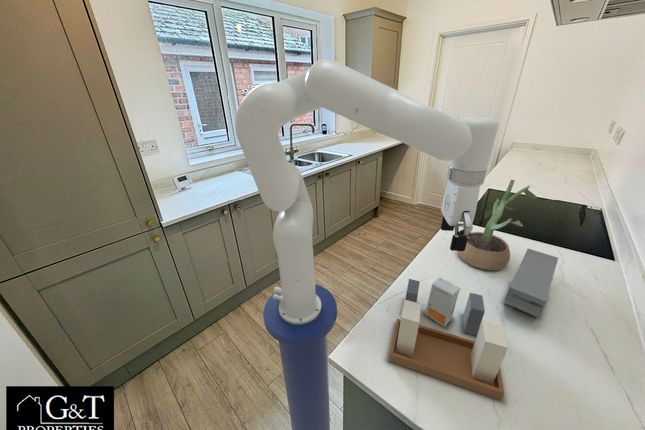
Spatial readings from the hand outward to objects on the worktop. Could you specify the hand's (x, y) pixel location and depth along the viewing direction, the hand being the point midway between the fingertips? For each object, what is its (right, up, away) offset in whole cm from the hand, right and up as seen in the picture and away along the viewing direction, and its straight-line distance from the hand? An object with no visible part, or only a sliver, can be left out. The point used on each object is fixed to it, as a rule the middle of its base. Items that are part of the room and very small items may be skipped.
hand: (451, 239), depth 67 cm
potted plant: (+30, -10, +34) cm, 47 cm away
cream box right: (+4, -30, -6) cm, 30 cm away
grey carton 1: (-7, -22, +12) cm, 26 cm away
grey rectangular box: (+29, -20, +14) cm, 38 cm away
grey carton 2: (+8, -25, +6) cm, 26 cm away
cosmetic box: (0, -23, +9) cm, 25 cm away
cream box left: (-12, -27, +1) cm, 29 cm away
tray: (-4, -29, -2) cm, 29 cm away
